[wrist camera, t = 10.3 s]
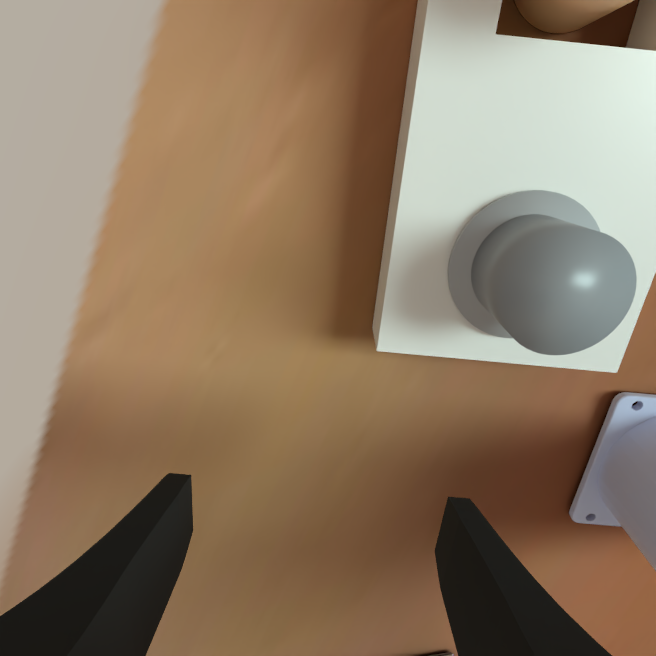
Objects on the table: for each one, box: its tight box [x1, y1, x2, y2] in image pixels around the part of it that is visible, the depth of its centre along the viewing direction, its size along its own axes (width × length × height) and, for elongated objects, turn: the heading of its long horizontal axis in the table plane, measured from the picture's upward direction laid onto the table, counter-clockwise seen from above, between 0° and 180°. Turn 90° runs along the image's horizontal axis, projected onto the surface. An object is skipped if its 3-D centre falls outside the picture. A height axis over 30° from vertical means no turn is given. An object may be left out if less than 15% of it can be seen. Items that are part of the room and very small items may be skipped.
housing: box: [372, 0, 656, 373], centre depth 14 cm, size 10×18×6 cm, turn 175°
